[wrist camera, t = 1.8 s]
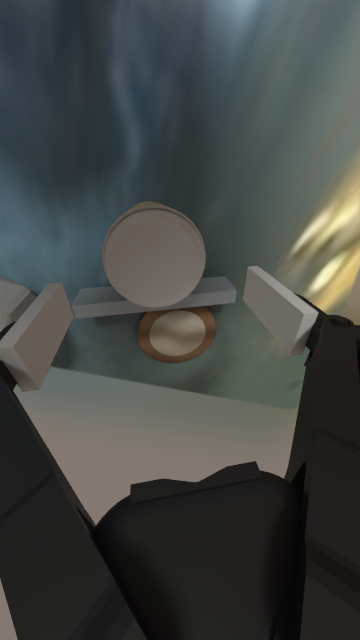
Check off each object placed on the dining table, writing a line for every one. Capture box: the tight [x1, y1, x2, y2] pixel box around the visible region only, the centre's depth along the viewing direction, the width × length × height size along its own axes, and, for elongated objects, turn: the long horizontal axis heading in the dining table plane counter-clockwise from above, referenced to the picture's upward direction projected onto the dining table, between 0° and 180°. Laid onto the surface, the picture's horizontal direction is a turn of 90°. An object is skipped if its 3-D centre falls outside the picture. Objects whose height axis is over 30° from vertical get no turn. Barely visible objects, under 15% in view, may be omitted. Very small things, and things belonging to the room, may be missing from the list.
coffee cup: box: [102, 201, 206, 308], centre depth 24 cm, size 9×9×12 cm
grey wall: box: [72, 276, 237, 319], centre depth 31 cm, size 2×22×5 cm, turn 92°
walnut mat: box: [138, 306, 216, 363], centre depth 38 cm, size 14×14×1 cm
